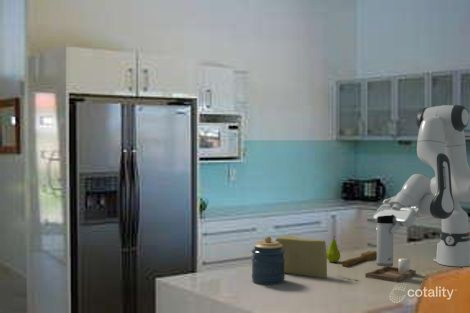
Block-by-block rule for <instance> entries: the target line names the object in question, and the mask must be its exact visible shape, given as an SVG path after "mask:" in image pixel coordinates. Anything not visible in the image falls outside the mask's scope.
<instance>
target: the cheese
mask: <svg viewBox="0 0 470 313" xmlns="http://www.w3.org/2000/svg"><path fill="white" fill-rule="evenodd" d="M275 241H278V242H279V243H280V244H282V245H283V246H282V247H281V248H282V249H283V250H284V251H285V253H284V254H283V257H284V259H285V261H284V274H292V275H300V276H305V277H311V276H312V278H319V279H326V278H327V277H328V273H327V272H328V270H327V269H328V264H327V262H328V259H327V254H326V253H327V246H326V241H325V240H323V239H317V238H316V239H314V238H305V237H298V236H294V235H289V234H287V235H286V234H285V235H281V236H278V237H276V238H275Z"/></svg>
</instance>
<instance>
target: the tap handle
mask: <svg viewBox="0 0 470 313" xmlns="http://www.w3.org/2000/svg"><path fill="white" fill-rule="evenodd" d="M376 258H377V250H376V251H375V250H373V251H371V250H370V251H366V252H363V253H360V256H357V257H353V258H348V259H345V260H343V261H342V262H341V266H342V267H343V268H347V267H350V266H354V265H356V264H357V263H360V262H366V261H367V262H368V261H371V260H374V259H376Z"/></svg>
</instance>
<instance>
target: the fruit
mask: <svg viewBox="0 0 470 313" xmlns="http://www.w3.org/2000/svg"><path fill="white" fill-rule="evenodd" d="M335 237H336V235H334V236H333V239H332V241H331V242H330V245H329V246H328V249H327V250H326V254H327V261H329V262H331V263H337V262H338V261H340V259H341V252H340V251H339V249H338V248H339V247H338V245H337V241H336V239H335Z"/></svg>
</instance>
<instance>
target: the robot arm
mask: <svg viewBox="0 0 470 313" xmlns="http://www.w3.org/2000/svg"><path fill="white" fill-rule="evenodd" d="M469 120H470V114H469V110H468V108H466V107H465V106H464V105H461V104H455V105H452V104H448V105H447V104H443V105H436V106H431V107H423V108H420V109H419V110H418V111H417V113H416V116H415V123H416V126H417V127H418V135H417V143H416V153H417V154H416V155H417V158H418V159H419V160H420V161H421V162H422V163H423V164H425V165H427V166H429V167H431V168H432V169H433V171H434V176H433V177H432V178H431V179H430V177H428V176H427V175H425V174H422V173H415V174H412V175H410V177H408V179H407V180H406V181H405V182H404V184H402V187H401V190H400V191H399V192H397V194H396V195H393V196H392V197H390V198H385V199H384V200H383V201H382V204H381V205H380V206H379V207H378V208H377V210H376V212H375V213H374V214H373V216H372V220H373V221H374V222H375V223H376V224H377V221H378V220H377V217H379V216H388V215H393V227H392V228H390V229H389V232H390V233H391V234H393V235H394V234H395V233H396V232H397V231H398V230H399V229H401V227H404V228H411V226H413V225H414V223H415V222H416V219H417V217H419V218H429V219H430V218H431V219H432V218H433V219H440V220H441V231H440V235H439V236H440V241H439V242H437V246H436V258H435V257H434V258H433V262H435V263H438V265H443V266H449V267H470V231H469V215H468V213H467V212H466V211H465V210H464V209H463V208H462V207H461V205H460V202H463V203H464V202H465V203H468V202H469V203H470V165H469V163H468V155H467V146H466V136H465V135H466V134H465V131H464V129H465V128H467V126H468V124H469ZM375 230H376V232H377V227H375Z"/></svg>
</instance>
